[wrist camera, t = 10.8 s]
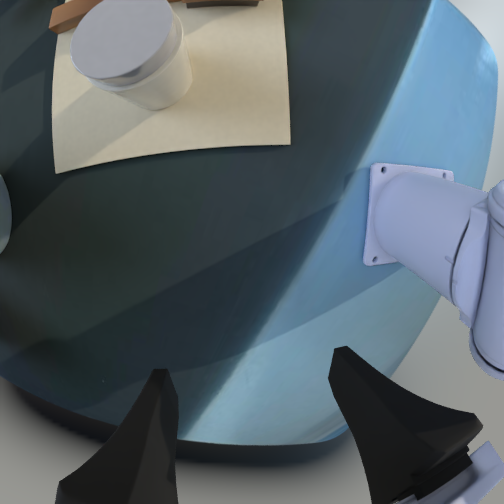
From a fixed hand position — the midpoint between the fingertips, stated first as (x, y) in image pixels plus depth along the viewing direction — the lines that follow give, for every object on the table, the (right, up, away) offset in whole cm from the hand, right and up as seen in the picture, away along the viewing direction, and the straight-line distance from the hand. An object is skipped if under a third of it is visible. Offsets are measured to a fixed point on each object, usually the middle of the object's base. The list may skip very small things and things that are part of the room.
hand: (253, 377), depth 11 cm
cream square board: (-6, +19, +2) cm, 20 cm away
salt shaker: (-6, +16, +3) cm, 17 cm away
